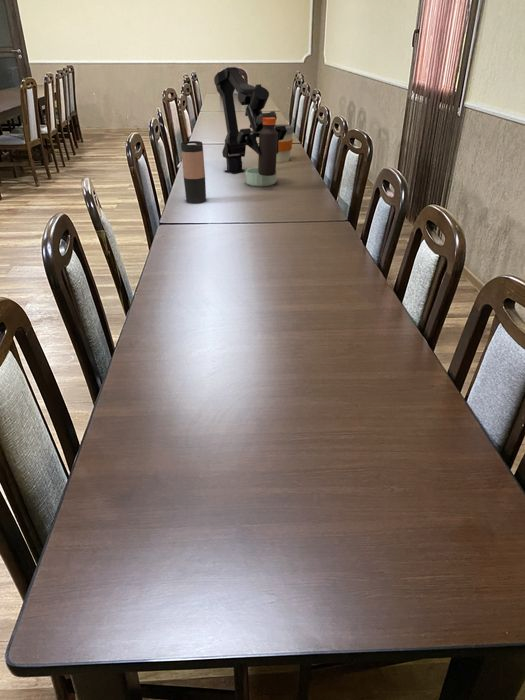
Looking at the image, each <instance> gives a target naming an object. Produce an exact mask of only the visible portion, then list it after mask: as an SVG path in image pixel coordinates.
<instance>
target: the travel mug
mask: <svg viewBox="0 0 525 700" xmlns="http://www.w3.org/2000/svg"><path fill="white" fill-rule="evenodd" d="M180 149H181V150H180V151H181V163H182V173H183V174H182V175H183V183H184V185H183V186H184V193H185V201H186V203H188V204H202V203H205V202H206V201H207V188H206V187H207V186H206V170H205V159H204V158H205V156H204V146H203V142H202V141H198V140H189V141H187V140H186V141H183V142H181V143H180Z"/></svg>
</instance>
